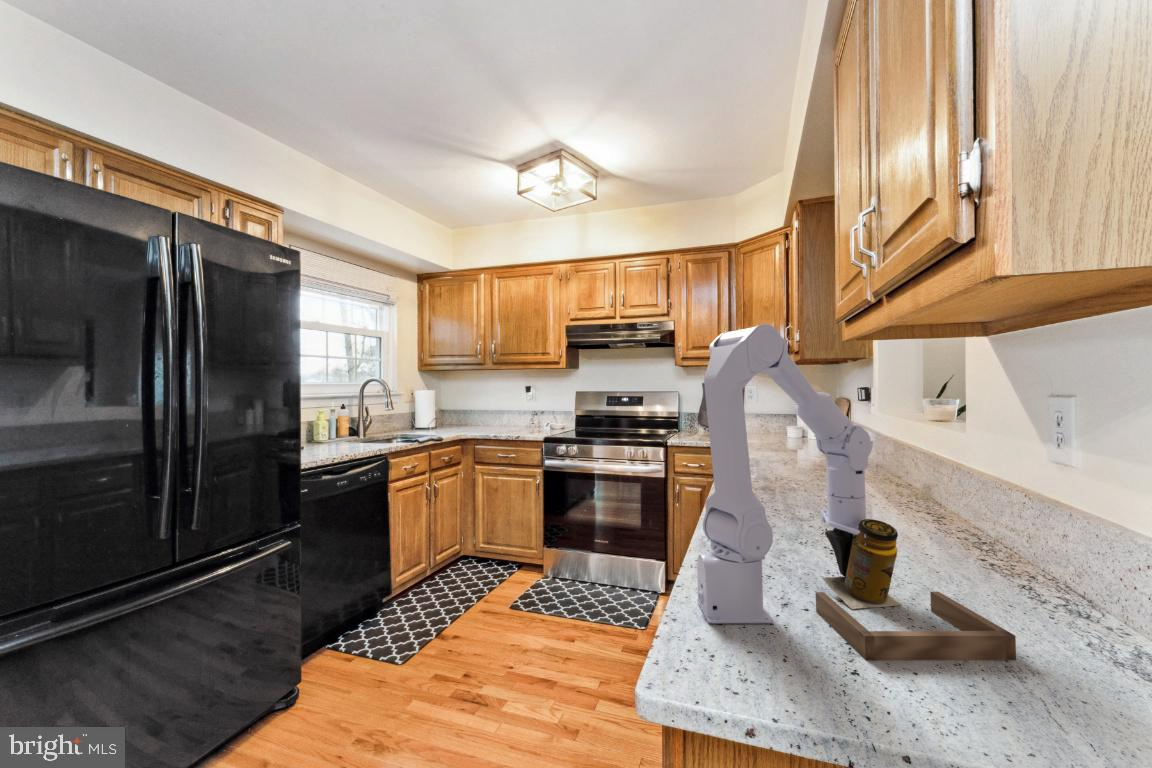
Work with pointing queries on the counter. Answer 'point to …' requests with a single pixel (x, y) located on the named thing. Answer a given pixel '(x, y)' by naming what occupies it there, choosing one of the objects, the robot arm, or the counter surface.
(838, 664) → the counter surface
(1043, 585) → the counter surface
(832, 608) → the box
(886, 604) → the condiment
